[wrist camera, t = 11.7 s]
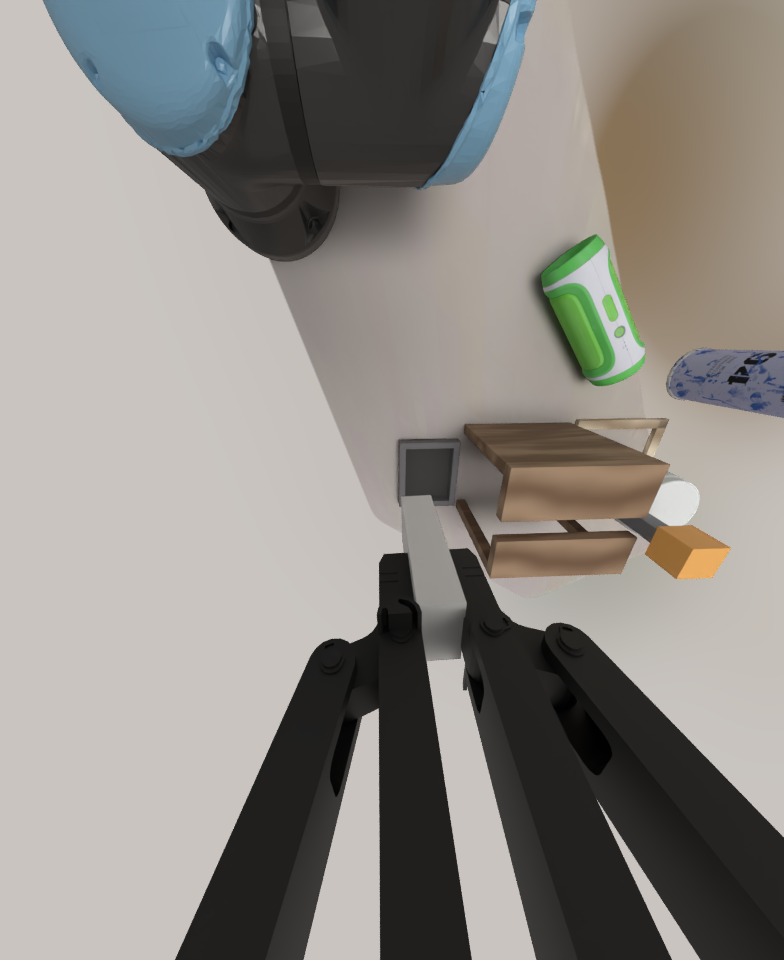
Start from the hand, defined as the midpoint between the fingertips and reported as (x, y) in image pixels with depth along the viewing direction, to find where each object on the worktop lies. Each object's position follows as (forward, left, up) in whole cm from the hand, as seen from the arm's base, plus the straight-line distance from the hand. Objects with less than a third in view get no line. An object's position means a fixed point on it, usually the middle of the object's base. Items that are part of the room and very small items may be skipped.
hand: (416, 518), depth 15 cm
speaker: (-11, +27, -35) cm, 45 cm away
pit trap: (+13, +6, -34) cm, 37 cm away
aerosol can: (-3, +48, -34) cm, 59 cm away
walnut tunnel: (+13, +21, -34) cm, 42 cm away
